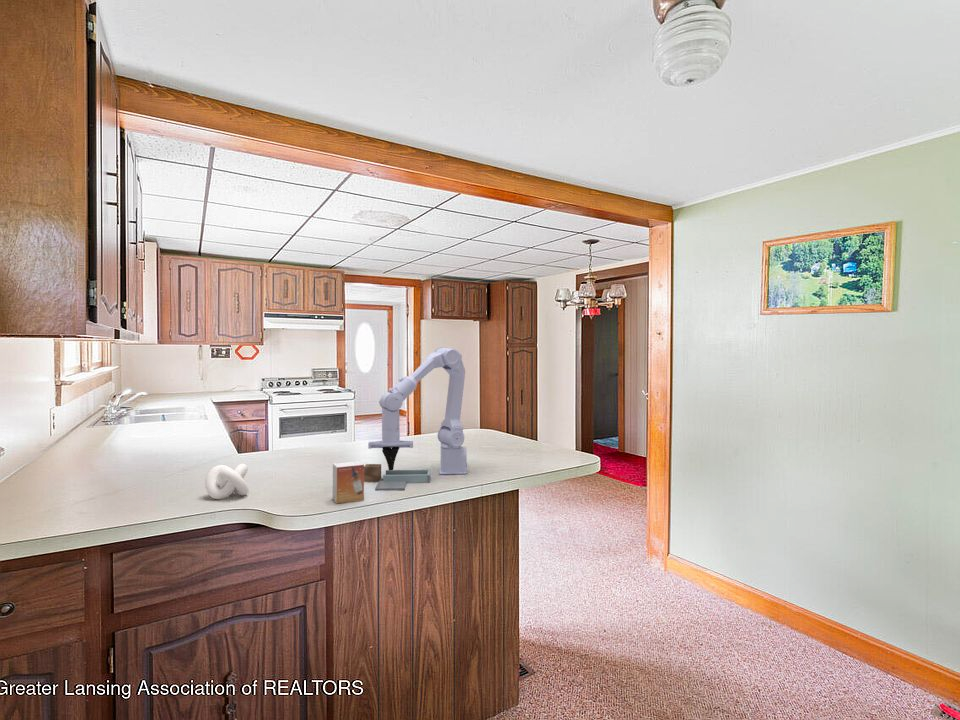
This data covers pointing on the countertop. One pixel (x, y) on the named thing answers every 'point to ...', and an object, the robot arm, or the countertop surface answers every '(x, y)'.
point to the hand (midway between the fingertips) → (391, 469)
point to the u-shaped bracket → (408, 476)
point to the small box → (348, 482)
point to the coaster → (391, 485)
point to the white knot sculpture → (226, 481)
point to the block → (372, 472)
